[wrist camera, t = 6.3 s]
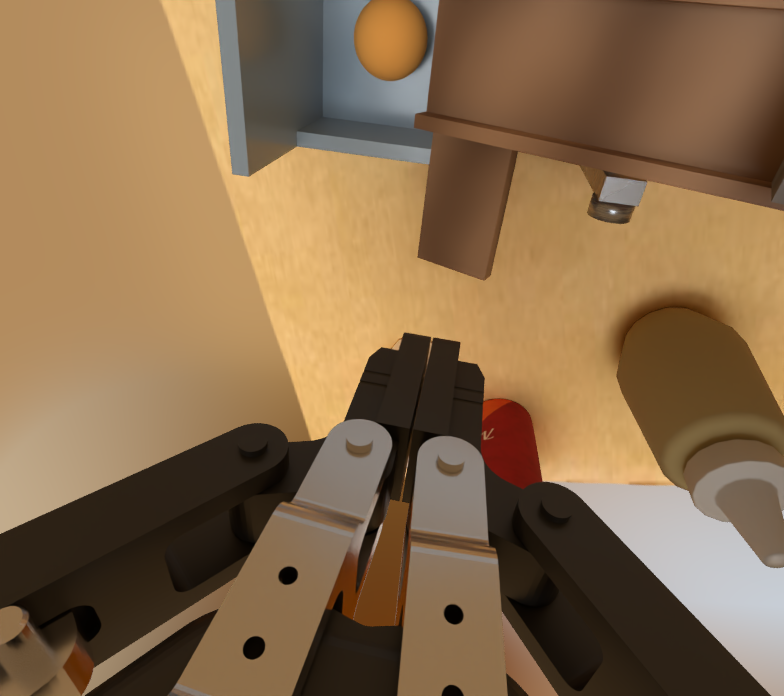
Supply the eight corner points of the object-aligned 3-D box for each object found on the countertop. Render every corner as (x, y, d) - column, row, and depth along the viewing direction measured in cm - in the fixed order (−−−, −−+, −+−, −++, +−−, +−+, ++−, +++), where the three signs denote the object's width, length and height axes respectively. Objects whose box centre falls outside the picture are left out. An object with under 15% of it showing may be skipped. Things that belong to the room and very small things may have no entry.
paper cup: (458, 384, 42) (442, 521, 31) (551, 393, 41) (571, 540, 29) (453, 449, 46) (437, 590, 35) (537, 459, 45) (549, 609, 34)
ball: (369, -8, 27) (439, -1, 27) (365, 73, 30) (429, 81, 29) (343, -12, 24) (421, -4, 24) (341, 79, 27) (412, 89, 26)
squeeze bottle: (756, 329, 35) (944, 560, 20) (665, 400, 39) (764, 630, 24) (666, 270, 33) (795, 468, 19) (584, 350, 38) (635, 560, 23)
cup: (519, -77, 25) (531, -138, 15) (479, 148, 31) (469, 208, 22) (312, -95, 26) (199, -162, 16) (313, 126, 32) (232, 174, 23)
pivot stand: (690, -55, 24) (819, -104, 14) (617, 161, 30) (673, 231, 20) (587, -64, 25) (644, -117, 15) (535, 151, 31) (551, 214, 21)
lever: (999, 2, 14) (1061, -10, 11) (763, 365, 21) (761, 418, 18) (456, -32, 21) (403, -45, 18) (421, 248, 28) (378, 272, 25)
